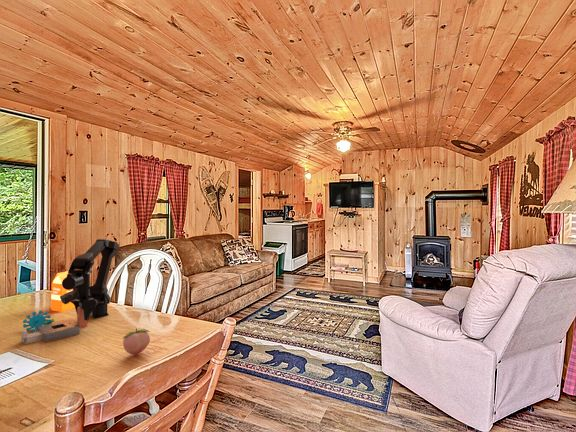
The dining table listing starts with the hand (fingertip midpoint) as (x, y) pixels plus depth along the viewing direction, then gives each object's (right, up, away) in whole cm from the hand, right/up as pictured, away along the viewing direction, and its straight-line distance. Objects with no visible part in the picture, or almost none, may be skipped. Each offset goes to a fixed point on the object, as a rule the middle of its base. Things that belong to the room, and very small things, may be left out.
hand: (82, 317), depth 145 cm
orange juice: (-25, -3, +24) cm, 35 cm away
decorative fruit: (+38, -5, -26) cm, 46 cm away
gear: (-17, -4, -4) cm, 18 cm away
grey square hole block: (-4, -4, -10) cm, 11 cm away
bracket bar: (-10, -4, -17) cm, 20 cm away
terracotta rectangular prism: (0, -4, 0) cm, 4 cm away
